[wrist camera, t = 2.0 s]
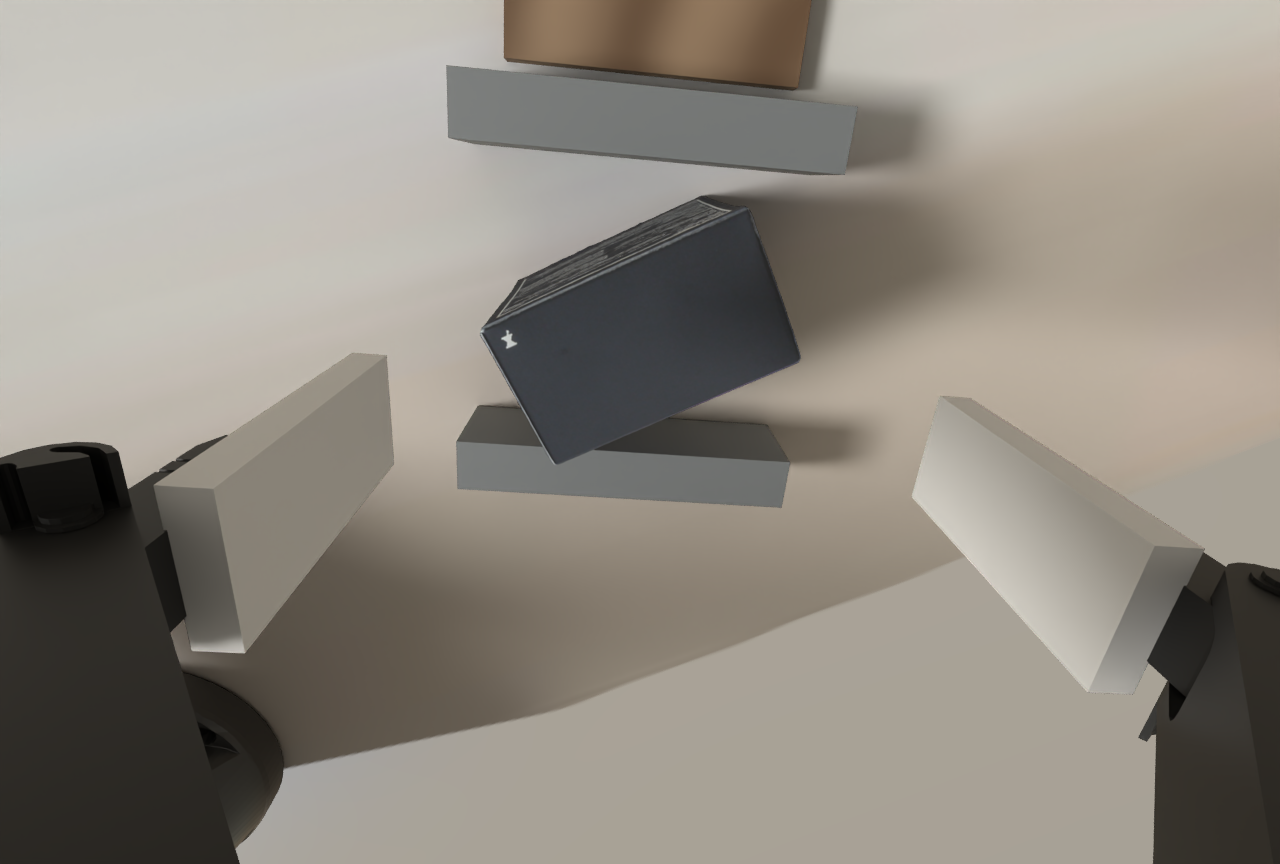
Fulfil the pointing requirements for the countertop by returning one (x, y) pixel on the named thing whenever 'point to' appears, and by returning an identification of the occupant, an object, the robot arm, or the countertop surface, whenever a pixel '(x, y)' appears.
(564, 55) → the walnut pad
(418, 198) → the countertop surface
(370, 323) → the countertop surface
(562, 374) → the small box
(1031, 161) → the countertop surface
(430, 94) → the countertop surface
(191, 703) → the robot arm
